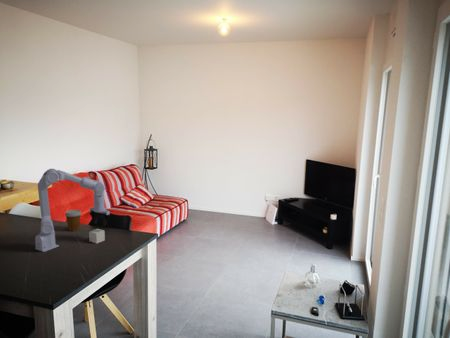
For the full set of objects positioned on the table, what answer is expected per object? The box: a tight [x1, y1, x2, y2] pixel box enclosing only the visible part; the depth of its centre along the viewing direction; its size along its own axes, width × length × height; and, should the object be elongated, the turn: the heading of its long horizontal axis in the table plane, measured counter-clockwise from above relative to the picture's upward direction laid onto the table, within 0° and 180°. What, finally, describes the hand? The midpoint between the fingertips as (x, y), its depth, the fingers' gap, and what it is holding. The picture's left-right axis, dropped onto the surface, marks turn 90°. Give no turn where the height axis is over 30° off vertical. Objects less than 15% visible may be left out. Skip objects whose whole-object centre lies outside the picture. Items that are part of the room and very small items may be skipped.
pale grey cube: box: [88, 228, 106, 244], centre depth 204 cm, size 6×6×6 cm
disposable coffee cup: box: [64, 209, 82, 232], centre depth 220 cm, size 10×10×12 cm
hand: (100, 224), depth 205 cm, fingers open, 7 cm apart
